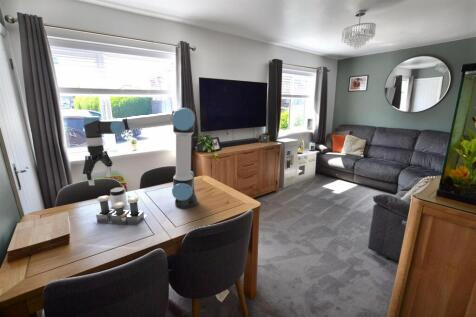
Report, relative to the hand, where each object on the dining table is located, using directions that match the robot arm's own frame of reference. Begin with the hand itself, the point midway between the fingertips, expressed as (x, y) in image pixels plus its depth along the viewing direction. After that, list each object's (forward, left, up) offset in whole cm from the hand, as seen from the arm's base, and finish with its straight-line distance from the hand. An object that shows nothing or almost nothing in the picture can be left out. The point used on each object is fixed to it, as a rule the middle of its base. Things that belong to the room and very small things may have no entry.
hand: (100, 181), depth 128 cm
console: (-11, +2, -23) cm, 26 cm away
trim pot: (-15, +6, -22) cm, 28 cm away
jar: (+1, -15, -24) cm, 28 cm away
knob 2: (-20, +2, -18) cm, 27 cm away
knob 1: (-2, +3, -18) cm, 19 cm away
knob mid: (-11, +2, -22) cm, 25 cm away
